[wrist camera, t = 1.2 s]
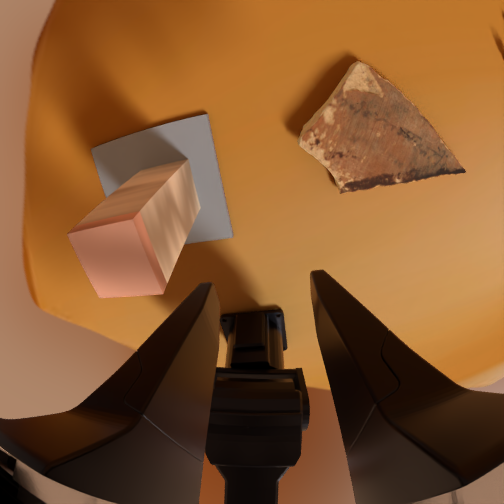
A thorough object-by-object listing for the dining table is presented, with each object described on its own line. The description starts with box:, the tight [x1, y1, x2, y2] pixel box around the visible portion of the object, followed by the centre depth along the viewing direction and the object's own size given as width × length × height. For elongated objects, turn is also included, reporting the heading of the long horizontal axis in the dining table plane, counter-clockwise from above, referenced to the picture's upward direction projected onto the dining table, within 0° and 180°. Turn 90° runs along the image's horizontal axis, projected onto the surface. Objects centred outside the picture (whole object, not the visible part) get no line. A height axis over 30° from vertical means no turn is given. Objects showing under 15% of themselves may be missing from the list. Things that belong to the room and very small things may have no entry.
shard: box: [297, 61, 466, 194], centre depth 18 cm, size 13×9×2 cm
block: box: [67, 159, 201, 298], centre depth 16 cm, size 4×4×10 cm
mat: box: [91, 114, 233, 244], centre depth 20 cm, size 10×10×1 cm
